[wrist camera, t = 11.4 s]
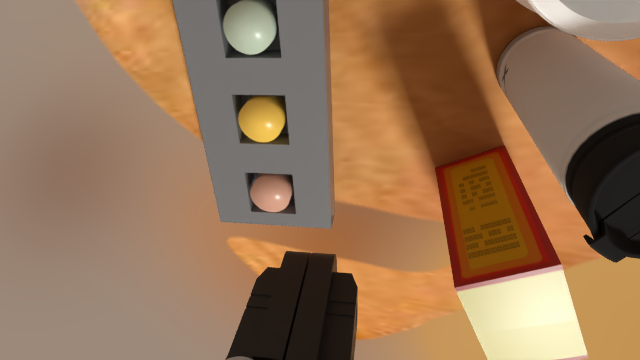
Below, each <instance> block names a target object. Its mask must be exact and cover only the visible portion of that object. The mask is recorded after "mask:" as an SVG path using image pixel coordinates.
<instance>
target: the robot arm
mask: <svg viewBox="0 0 640 360" xmlns="http://www.w3.org/2000/svg"><path fill="white" fill-rule="evenodd" d="M357 293H358V287H357V285H356V283H355V280H354V278H353V275H352V274H351V273H338V272H337V259H336V254H322V253H307V252H293V251H286V253H285V255H284V258H283V261H282V264H281V267H280V268H272V267H268V268H267V269H266V270H265V271H264V272H263V273H262V274H261V275H260V276H259V277H258V278H257V279H256V282H255V285H254V287H253V290H252V293H251V297H250V298H249V301H248V303H247V306H246V309H245V311H244V314H243V316H242V319H241V322H240V325H239V327H238V330H237V332H236V335H235V338H234V340H233V343H232V346H231V348H230V351H229V353H228V356H227V358H226V359H225V360H354V351H355V342H356V330H357Z"/></svg>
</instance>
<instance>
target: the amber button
mask: <svg viewBox="0 0 640 360" xmlns="http://www.w3.org/2000/svg"><path fill="white" fill-rule="evenodd" d="M238 120H239V125H240V128H241V130H242V131H243V132H244V134H245V135H246V136H248V137H249V138H250V139H252V140H254V141H257V142H269V141H272V140H274V139H275V138H277V137H278V135H279V134H280V132H281V130H282V128H283V127H284V125H285V123H286V121H287V111H286V103H285V101H284V100H283V98H282V97H281V96H279V95H252V96H251V97H250V98H249V100H248V101H247V102H246V103H245V105H244V106H243V107H242V109H241V110H240V112H239V117H238Z"/></svg>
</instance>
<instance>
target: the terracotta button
mask: <svg viewBox="0 0 640 360" xmlns="http://www.w3.org/2000/svg"><path fill="white" fill-rule="evenodd" d="M293 190H294V186H293V176H292V175H291V174H269V173H259V174H258V176H257V178H256V180H255V182H254V184H253V186H252V188H251V191H250V195H251V198H252V201H253V202H254V203H255V205H256V206H258V207H259V208H260V209H262V210H264V211H267V212H279V211H282V210H283V209H285V208H286V207H287V206H288V204H289V201H290V198H291V196H292V193H293Z"/></svg>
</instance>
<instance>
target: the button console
mask: <svg viewBox="0 0 640 360" xmlns="http://www.w3.org/2000/svg"><path fill="white" fill-rule="evenodd" d="M172 1H173V5H174V10H175V14H176V19H177V24H178V28H179V33H180V37H181V42H182V46H183V51H184V56H185V60H186V65H187V69H188V74H189V78H190V83H191V88H192V92H193V97H194V101H195V106H196V111H197V115H198V120H199V124H200V129H201V133H202V138H203V143H204V147H205V152H206V156H207V161H208V165H209V170H210V175H211V179H212V183H213V188H214V193H215V197H216V202H217V206H218V211H219V216H220V220H221V222H233V223H250V224H266V225H282V226H297V227H314V228H331V227H332V223H333V218H334V212H335V200H334V167H333V134H332V101H331V68H330V35H329V2H328V0H268V1H269V2H270V3H272V5H273V6H274V7H275V8H276V10H277V15H278V26H279V33H278V35H277V37H276V38H275V40H274V41H273V42H272V43H271V44H270V45H269V46H268V47H267V48H266V49H265V50H264V51H262V52H260V53H258V54H252V55H250V54H244V53H241V52H239V51H238V50H236V49H235V48H234V47H233V46H232V45H231V44H230V43H229V41H228V40H227V38H226V36H225V33H224V28H223V21H224V17H225V14H226V12H227V11H228V9H229V8H230V7H231V6H233V5H234V4H236V3H238V2H239V1H241V0H172ZM252 95H279V96H281V97H282V98H283V100H284V101H285V103H286V111H287V121H286V123H285V125H284V127H283V128H282V130H281V132H280V134H279V135H278V137H277V138H275V139H274V140H272V141H269V142H257V141H254V140H252V139H250V138H249V137H248V136H246V135H245V134H244V132H243V131H242V130H241V128H240V125H239V120H238V117H239V112H240V110H241V109H242V107H243V106H244V105H245V103H246V102H247V101H248V100H249V98H250V97H251V96H252ZM259 173H269V174H291V175H292V176H293V186H294V190H293V193H292V196H291V198H290V201H289V204H288V206H287V207H286V208H285V209H283V210H282V211H279V212H267V211H264V210H262V209H260V208H259V207H258V206H256V205H255V203H254V202H253V201H252V198H251V195H250V191H251V188H252V186H253V184H254V182H255V180H256V178H257V176H258V174H259Z"/></svg>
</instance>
